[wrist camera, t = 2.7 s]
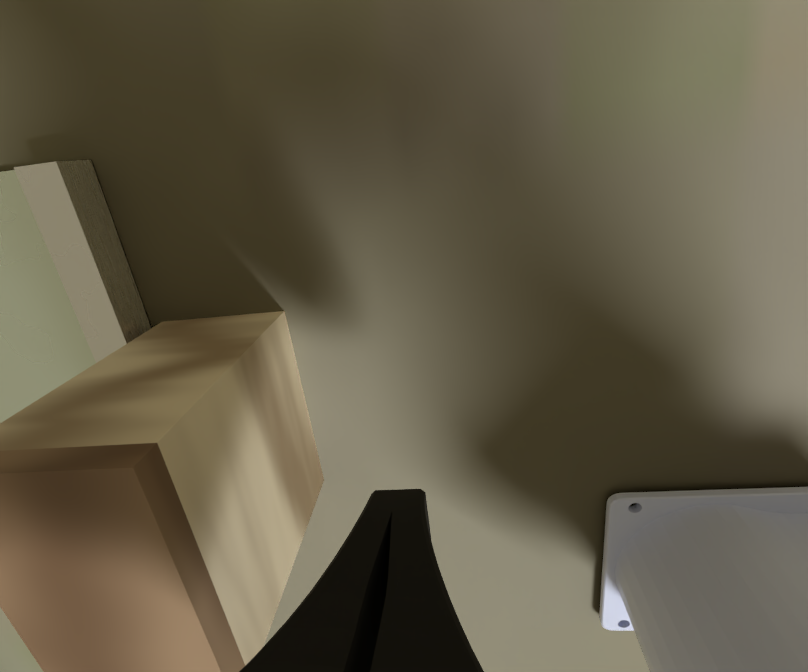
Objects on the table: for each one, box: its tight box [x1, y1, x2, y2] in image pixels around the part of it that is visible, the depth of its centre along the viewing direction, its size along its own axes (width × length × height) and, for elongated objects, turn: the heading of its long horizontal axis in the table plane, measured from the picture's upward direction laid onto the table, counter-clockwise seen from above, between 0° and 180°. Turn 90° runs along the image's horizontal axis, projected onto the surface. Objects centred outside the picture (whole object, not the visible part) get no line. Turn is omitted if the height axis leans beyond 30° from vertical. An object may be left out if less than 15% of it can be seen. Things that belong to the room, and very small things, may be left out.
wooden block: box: [0, 311, 324, 672], centre depth 15 cm, size 5×8×9 cm, turn 7°
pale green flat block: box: [0, 160, 151, 423], centre depth 19 cm, size 13×20×2 cm, turn 7°
